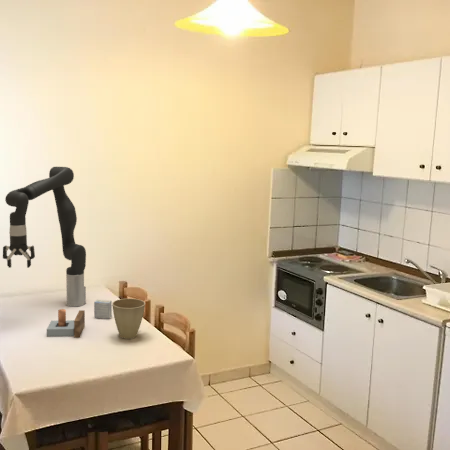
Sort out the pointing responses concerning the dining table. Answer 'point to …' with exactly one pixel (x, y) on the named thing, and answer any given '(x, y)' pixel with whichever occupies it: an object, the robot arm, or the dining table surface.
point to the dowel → (62, 318)
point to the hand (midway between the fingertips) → (19, 267)
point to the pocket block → (60, 329)
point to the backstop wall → (79, 323)
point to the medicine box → (103, 309)
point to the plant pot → (128, 316)
